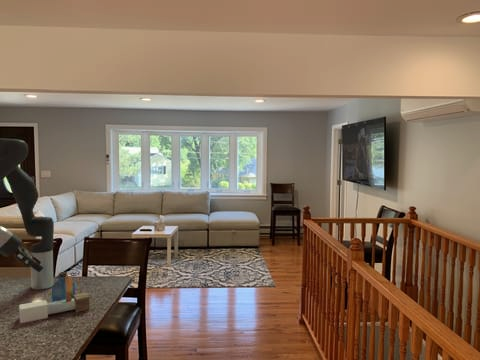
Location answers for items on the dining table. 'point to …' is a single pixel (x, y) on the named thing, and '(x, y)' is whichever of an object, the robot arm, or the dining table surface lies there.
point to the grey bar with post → (63, 304)
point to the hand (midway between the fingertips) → (40, 267)
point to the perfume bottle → (61, 288)
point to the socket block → (82, 302)
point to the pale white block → (33, 311)
